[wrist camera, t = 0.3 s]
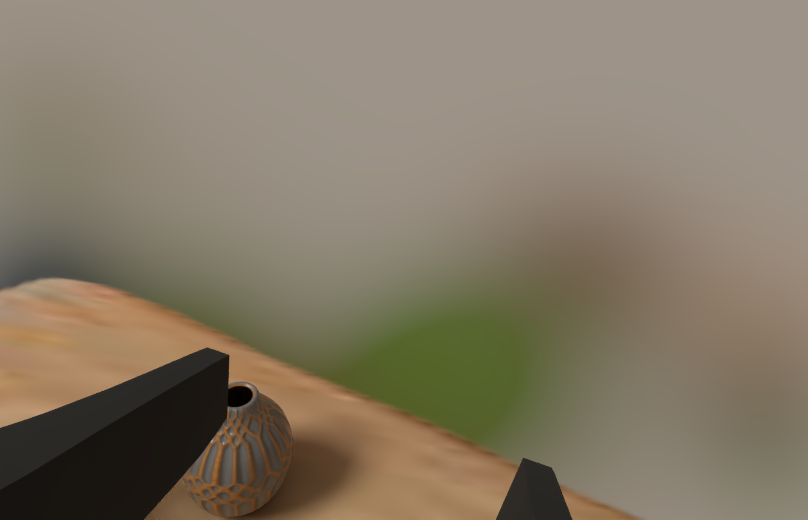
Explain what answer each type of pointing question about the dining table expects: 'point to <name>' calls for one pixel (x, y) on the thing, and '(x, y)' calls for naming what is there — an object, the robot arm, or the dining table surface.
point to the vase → (243, 456)
